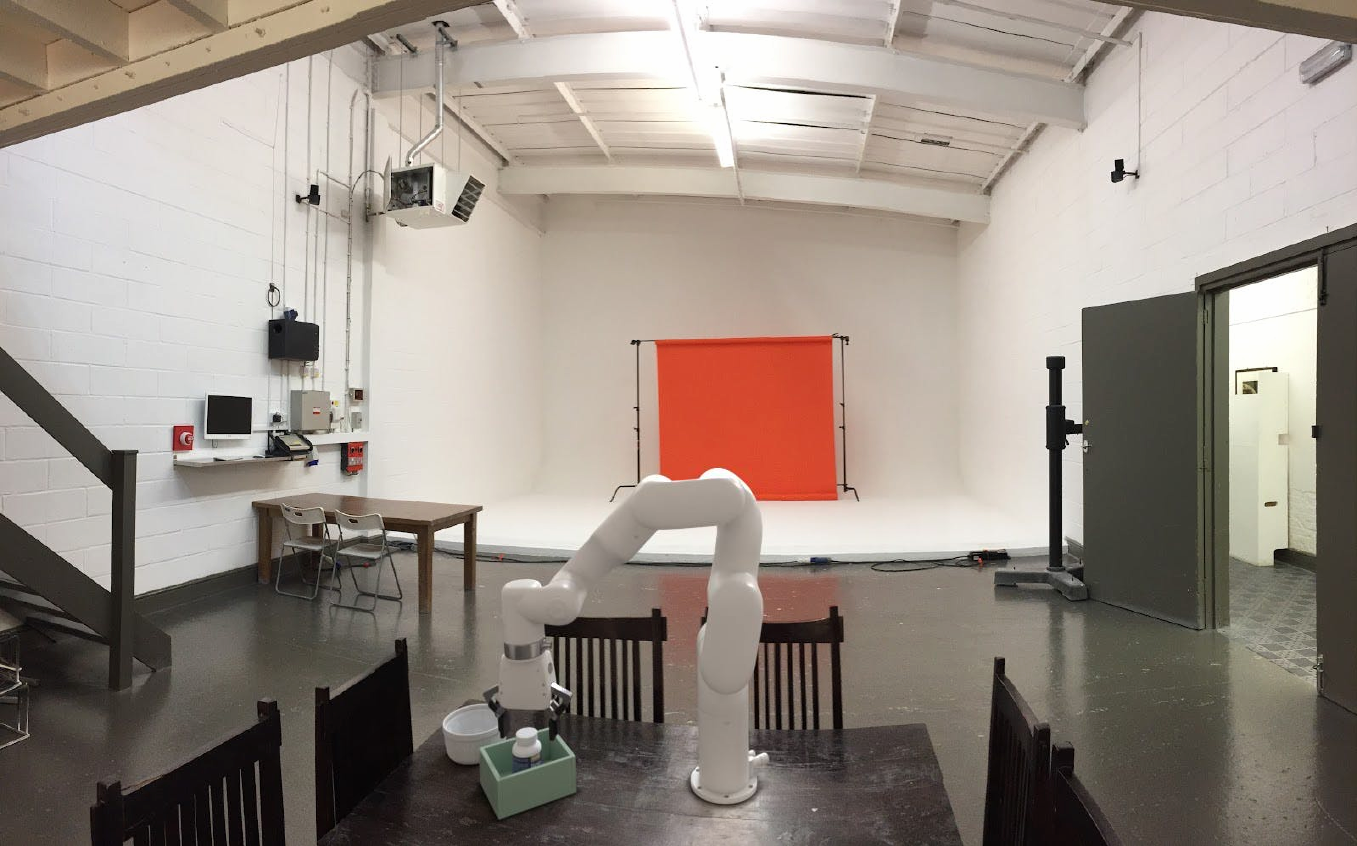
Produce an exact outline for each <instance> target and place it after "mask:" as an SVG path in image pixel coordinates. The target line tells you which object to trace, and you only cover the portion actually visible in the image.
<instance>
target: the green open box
mask: <svg viewBox="0 0 1357 846" xmlns="http://www.w3.org/2000/svg"><path fill="white" fill-rule="evenodd" d="M537 740H539V741H540V743H541V750H542V765H539V766H536V767H533V768H530V769H527V770H523V771H520V772H517V773H514V774H513V761H512V748H513V746H514V744H515V743H516V736H514V737H512V738H509V739H506V740H504V741H501V742H498V743H494V744H491V745H487V746H484V747H480V748H479V761H480V763H479V783H480V785H481V788H482V790H483V791H484V794H485V795H486V797H487V799H488V802H489V804H490V806H491V808H492V809H493V812H494V813H495V815H496V817H497V820H502V819H505V818H508V817H510V816H513V815H517V814H519V813H522V812H524V811H527V810H530V809H533V808H536V807H539V806H541V805H544V804H547V803H550V802H552V801H556V800H558V799H562V798H564V797H567V796H570V795H573V794H576V793H577V764H576V763H577V762H576V759H577V758H576V755H575V753H574V752H573V751H572V750H571V749H570V747H569V746H568V745H567V744H566V742H565V741H564V740H563V738H562V737H561V736H560V734H558V735H557V736H556V738H555V739H554V741H550V740H549V727H546V728H543V729H539V730H537Z"/></svg>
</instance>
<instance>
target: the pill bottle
mask: <svg viewBox="0 0 1357 846" xmlns="http://www.w3.org/2000/svg"><path fill="white" fill-rule="evenodd" d="M537 731H538V730H537V729H536V728H535V727H523V728H520V729H518V730H517V731H516V732H515V737H516V743H515V744H514V746H513V748H512V761H513V774H514V773H517V772H520V771H523V770H527V769H530V768H533V767H536V766H539V765H542V750H541V743H540V741H539V740H537Z"/></svg>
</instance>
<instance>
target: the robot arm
mask: <svg viewBox="0 0 1357 846" xmlns="http://www.w3.org/2000/svg"><path fill="white" fill-rule="evenodd" d="M760 509H761V508H760V507H759V504H758V501H757V499H756V496H755V495H754V494H753V492H752V490H751V488H750V487H749V486H748V485H747V483H746V482H744V480H742V479H741V478H740V477H738V475H736V474H735V473H733V472H732V471H730V470H728V469H725V468H721V467H720V468H719V467H718V468H716V467H715V468H710V469H708V470H707V471H705V472H703V474H702V475H700V477H699V478H692V479H683V480H682V479H681V480H672V479H670V478H668V477H666V476H664V475H661V474H651V475H648V476H645V478H643V479H642V480H641V481H639V483H637V485H636V486H634V487H633V489H632V490H631V491H630V492H629V493H628V494H627V495H626V497H625V498H624V499H623V500H622V501H621V502H620V503H618V505H617V506H616V507H615V509H614V510H612V512H611V513H610V514H609V515H608V516H607V517H606V518H605V519H604V520H603V522H602V523H600V525H598V527H597V528H596V529H595V530H594V531H593V532H592V534H591V535H590V536H589V538H588V539H586V541H585V543H584V544H582V546H581V547H580V548H578V550H577V551H576V552H575V553H574V554H573V555H572V556H571V557H570V558H569V560H568V561H566V563H565V564H564V565H563V566H562V567H561V568H560V569H559V570H558V572H557V573H556V574H555V575H554V576H553V577H552V578H551V580H550V581H549V583H548V584H546V585H544V586H542V585H541V582H540V581H538V580H536V579H531V578H522V579H521V578H519V579H515V580H512V581H508V582H507V583H506V584H504V585H503V587H502V588H501V591H500V599H501V600H500V601H501V619H502V630H503V631H502V633H503V634H502V635H503V654H501V658H500V664H499V670H498V683H497V684H494V685H493V686H491V687H489V688H487V689H486V690H484V692H482V697H483V698H484V700H485V702H486V704H488V707H489V708H490V709H491V710H492V711H493V712H494V713H495V717H496V718H498V731H499V732H500V738H501V739H504V738H505V737H506V738H507V736H508V734H509V733H510V732H511V714H510V710H523V711H524V710H527V711H544V712H545V713H546V714H547V715H548V717H550V718H549V719H548V728H549V740H550V741H554V739H555V738H556V736H557V735H560V733H561V716H562V714H564V712H565V711H566V710H567V708H568V707H569V704H570V703H571V700H572V698H573V697H574V695H573V692H572V691H569V690H568V689H566V688H564V687H563V686H560V685H559V684H557V677H556V671H555V665H554V661H553V658H552V653H551V651H550V650H552V648H553V642H552V641H549V640H547V636H546V633H545V625H550V626H566V625H569V624H571V623H573V622H574V621H575V620H576V619H577V618H578V616H579V614H580V613H581V609H582V607H583V605H584V602H585V600H586V598H587V597H588V596H589V594H591V592H593V590H594V589H595V588H596V587H597V586H598V585H599V584H600V583H601V581H602V580H603V579H605V577H606V576H607V575H609V573H610V572H611V571H612V570H614V569H615V568H617V567H619V566H621V565H624V564H626V563H628V562H629V561H631V560H632V559H633V558H634V557H635V556H636V555H637V553H638V552H639V551H640V550H641V549H642V548H643V547H644V546H645V544H646V543H647V542H649V540H650V539H651V538H652V537H653V536H654V535H655V533H657V532H658V531H664V530H665V531H671V530H685V529H695V528H696V529H697V528H707V527H716V536H715V544H714V555H713V559H712V565H711V570H710V575H709V579H708V583H707V589H706V597H707V604H708V605H707V606H708V609H707V616H706V622H704V624H703V625H702V626H701V628H700V630H699V632H698V634H697V638H696V662H697V663H696V667H697V668H696V669H697V715H698V716H697V728H698V729H697V732H698V737H697V739H698V765H697V766H696V768H694V770H692V772H691V775H690V786H691V787H690V788H691V789H692V791H693V792H694V793H695V794H696V796H698V797H699V798H701V799H702V800H704V801H706V802H709V803H712V804H719V805H734V804H738V803H741V802H744V801H747V800H748V799H750V798H751V797H752V796H753V795H754V794H755V793H756V792H757V790H758V789H757V788H758V777H757V775H756V773H755V771H756V770H757V769H758V767H761V766H764V765H767V764H769V763H770V756H769V754H768V753H767V752H762V753H759V754H757V755H756V752H755V750H754V749H751V750H750V740H749V739H750V734H749V732H750V731H749V730H750V729H749V728H750V727H749V726H750V723H749V722H750V720H749V714H750V713H749V705H750V704H749V703H750V702H749V701H750V700H749V699H750V698H749V693H750V691H749V682H751V679H752V677H753V674H754V671H755V667H756V663H757V656H758V650H759V645H760V638H761V631H762V628H763V627H762V626H763V620H764V599H763V595H762V593H761V590H760V587H759V583H758V577H759V567H760V560H761V551H762V544H763V543H762V542H763V518H762V513H761V510H760ZM496 694H498V699H497V698H496V697H495V695H496ZM557 697H559V698H560V699H561V700H562V701H561V703H560V704H559V703H558V702H557V701H556V699H557Z"/></svg>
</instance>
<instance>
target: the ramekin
mask: <svg viewBox="0 0 1357 846" xmlns="http://www.w3.org/2000/svg"><path fill="white" fill-rule="evenodd" d="M441 728H442V730H441V731H442V734H443V738H444V744H445V749H446V754H447V756H448V757H449V758H450V759H451V761H453V762H455V763H457V764H459V765H465V766H466V765H467V766H468V765H477V764H480V761H479V748H480V747H484V746H487V745H491V744H494V743H498V742H501V741H504V740H507V736H506V737H505V738H504V739H501V738H500V732H499V731H498V718H496V717H495V713H494V712H493V711H492V710H491V709H490V708H489V707H488V703H477V704H476V703H475V704H470V705H466V706H463V707H461V708H458V709H456V710H453V711H452V712H450V713H449V714H448V715H447V716H446V717H445V718H444V719H443V721H442V727H441Z"/></svg>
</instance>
